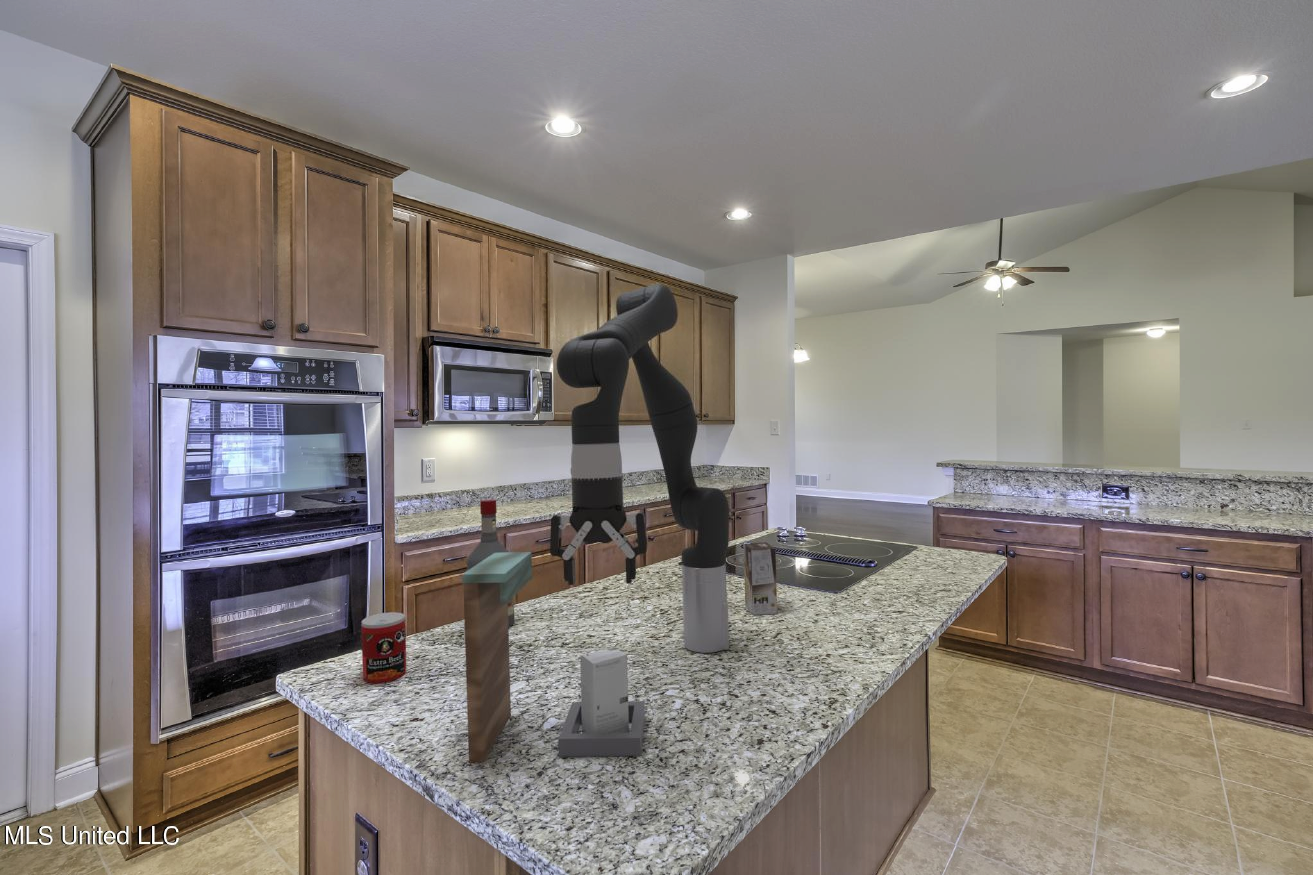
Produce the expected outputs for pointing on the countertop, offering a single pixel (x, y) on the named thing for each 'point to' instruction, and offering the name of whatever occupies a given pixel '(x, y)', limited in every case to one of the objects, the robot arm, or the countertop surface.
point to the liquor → (489, 544)
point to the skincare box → (604, 692)
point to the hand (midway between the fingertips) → (600, 583)
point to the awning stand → (490, 645)
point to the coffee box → (760, 578)
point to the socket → (602, 735)
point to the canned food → (383, 647)
